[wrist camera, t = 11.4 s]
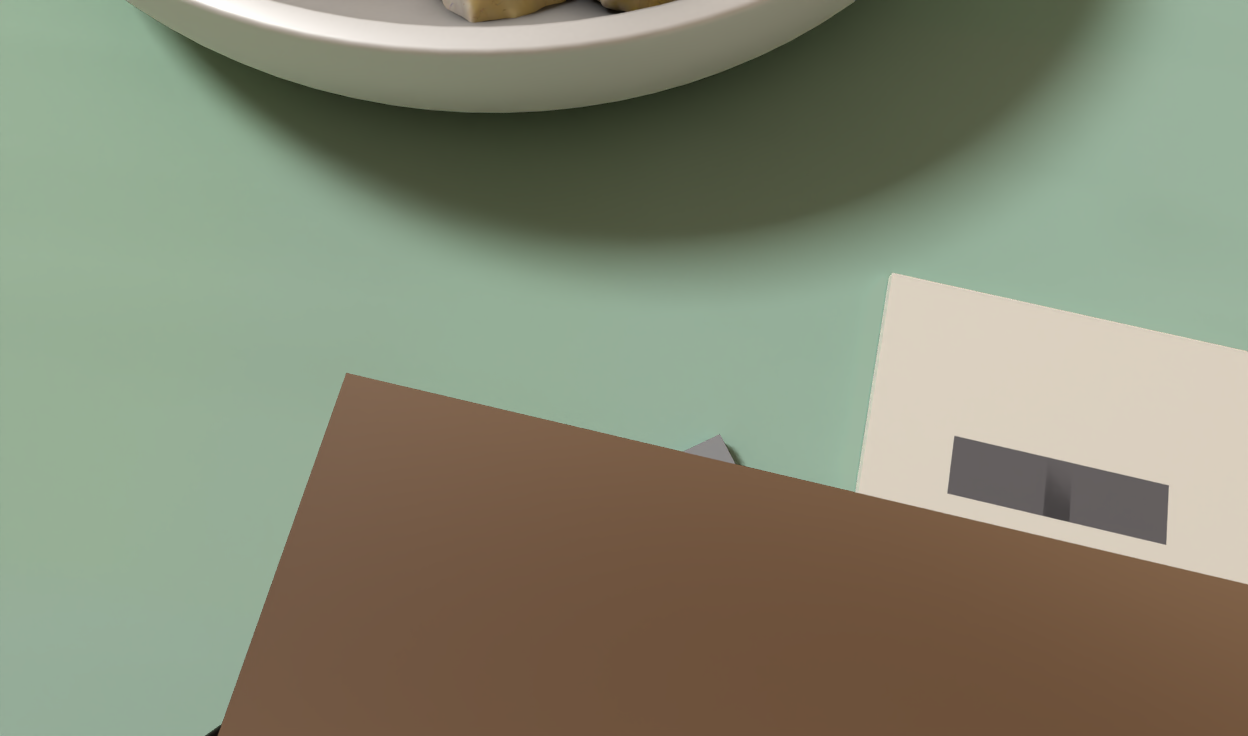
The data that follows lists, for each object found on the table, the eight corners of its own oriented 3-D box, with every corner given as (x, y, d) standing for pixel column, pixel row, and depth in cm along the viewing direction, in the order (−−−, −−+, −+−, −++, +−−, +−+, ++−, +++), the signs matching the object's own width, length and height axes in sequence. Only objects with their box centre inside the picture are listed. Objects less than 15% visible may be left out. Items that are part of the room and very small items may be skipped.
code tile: (1242, 742, 18) (1253, 744, 18) (831, 641, 19) (835, 640, 19) (1249, 357, 21) (1258, 353, 21) (888, 277, 22) (892, 272, 21)
